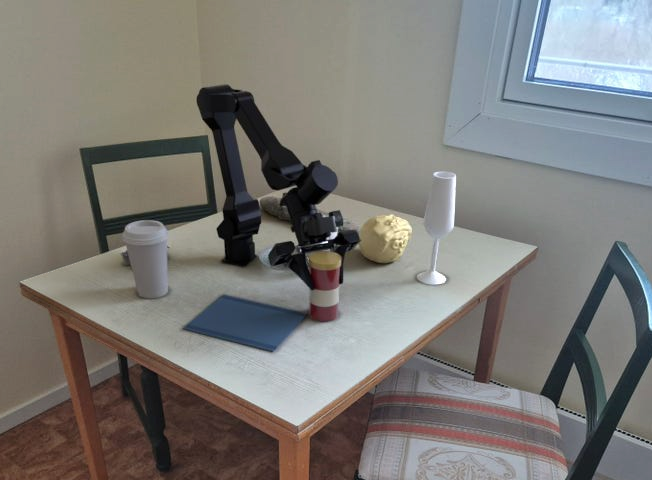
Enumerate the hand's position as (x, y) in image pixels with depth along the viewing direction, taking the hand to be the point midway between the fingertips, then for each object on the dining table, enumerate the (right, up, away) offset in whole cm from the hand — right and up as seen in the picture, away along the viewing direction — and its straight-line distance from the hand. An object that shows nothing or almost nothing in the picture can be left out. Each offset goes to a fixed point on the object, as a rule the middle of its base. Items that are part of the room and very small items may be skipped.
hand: (327, 286), depth 129 cm
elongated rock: (-4, +23, +49) cm, 54 cm away
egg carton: (-43, +9, +26) cm, 51 cm away
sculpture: (+14, +10, +29) cm, 34 cm away
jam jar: (-1, -5, +5) cm, 7 cm away
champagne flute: (+25, +4, +20) cm, 32 cm away
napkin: (-16, -7, +2) cm, 18 cm away
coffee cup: (-38, 0, +13) cm, 40 cm away
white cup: (-1, +9, +27) cm, 29 cm away
